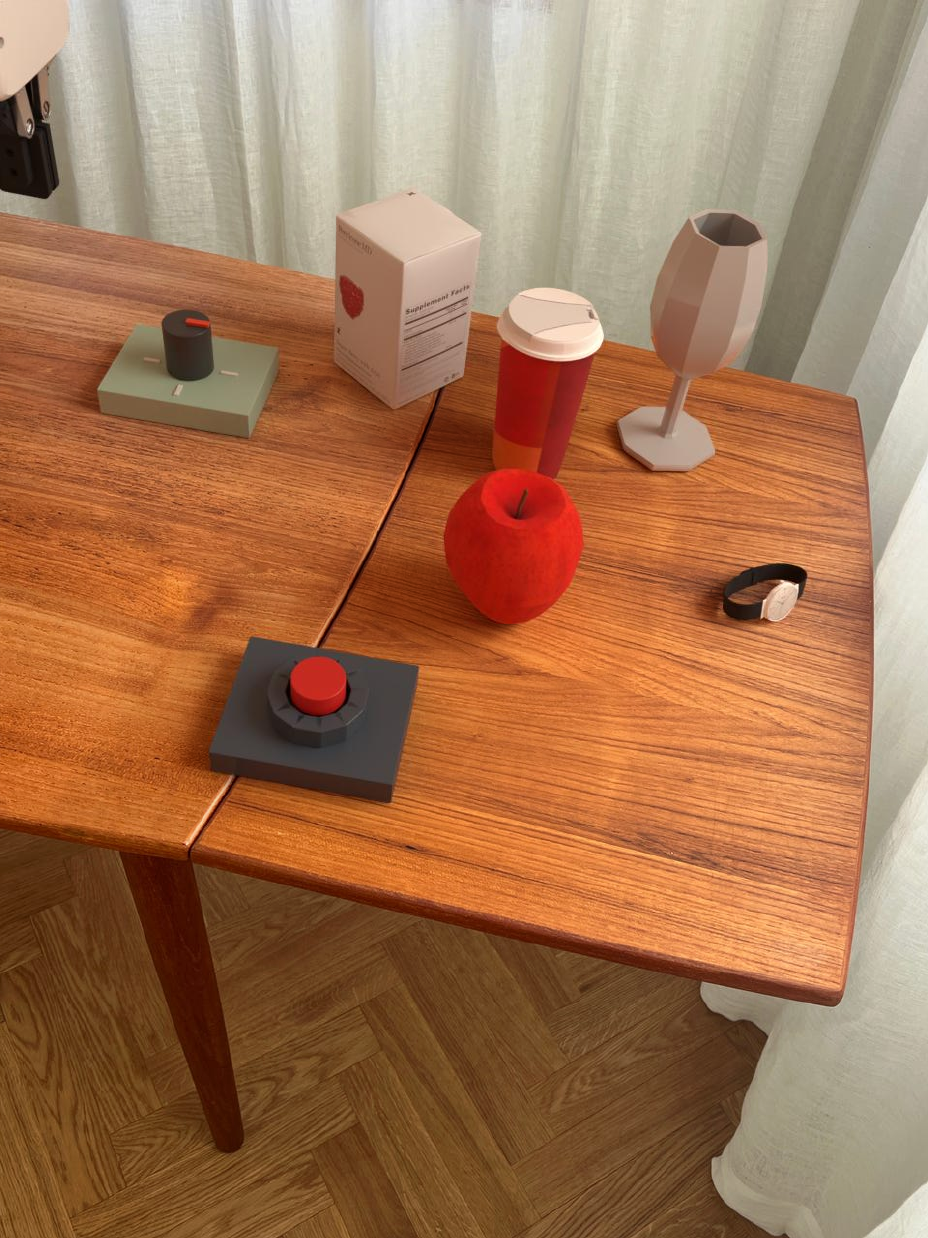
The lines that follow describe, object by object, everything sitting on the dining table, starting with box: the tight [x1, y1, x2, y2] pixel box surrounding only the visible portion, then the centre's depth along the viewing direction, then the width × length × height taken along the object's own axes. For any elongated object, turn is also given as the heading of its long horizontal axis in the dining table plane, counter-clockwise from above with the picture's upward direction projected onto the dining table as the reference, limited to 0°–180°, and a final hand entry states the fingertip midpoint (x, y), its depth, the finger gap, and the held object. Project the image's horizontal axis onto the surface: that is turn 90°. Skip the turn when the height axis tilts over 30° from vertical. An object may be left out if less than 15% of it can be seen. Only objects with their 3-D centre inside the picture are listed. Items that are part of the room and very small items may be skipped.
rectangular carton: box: [333, 187, 483, 410], centre depth 98 cm, size 9×9×15 cm
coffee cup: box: [492, 287, 605, 480], centre depth 91 cm, size 8×8×15 cm
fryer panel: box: [96, 323, 280, 439], centre depth 97 cm, size 13×10×3 cm
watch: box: [722, 562, 809, 622], centre depth 86 cm, size 8×5×4 cm, turn 122°
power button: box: [290, 657, 346, 716], centre depth 72 cm, size 4×4×2 cm
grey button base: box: [208, 636, 420, 804], centre depth 74 cm, size 12×10×4 cm
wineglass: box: [615, 208, 769, 472], centre depth 92 cm, size 9×9×21 cm
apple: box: [442, 468, 585, 625], centre depth 80 cm, size 10×10×12 cm
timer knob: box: [161, 308, 214, 381], centre depth 94 cm, size 4×4×5 cm
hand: (29, 188), depth 67 cm, fingers closed
